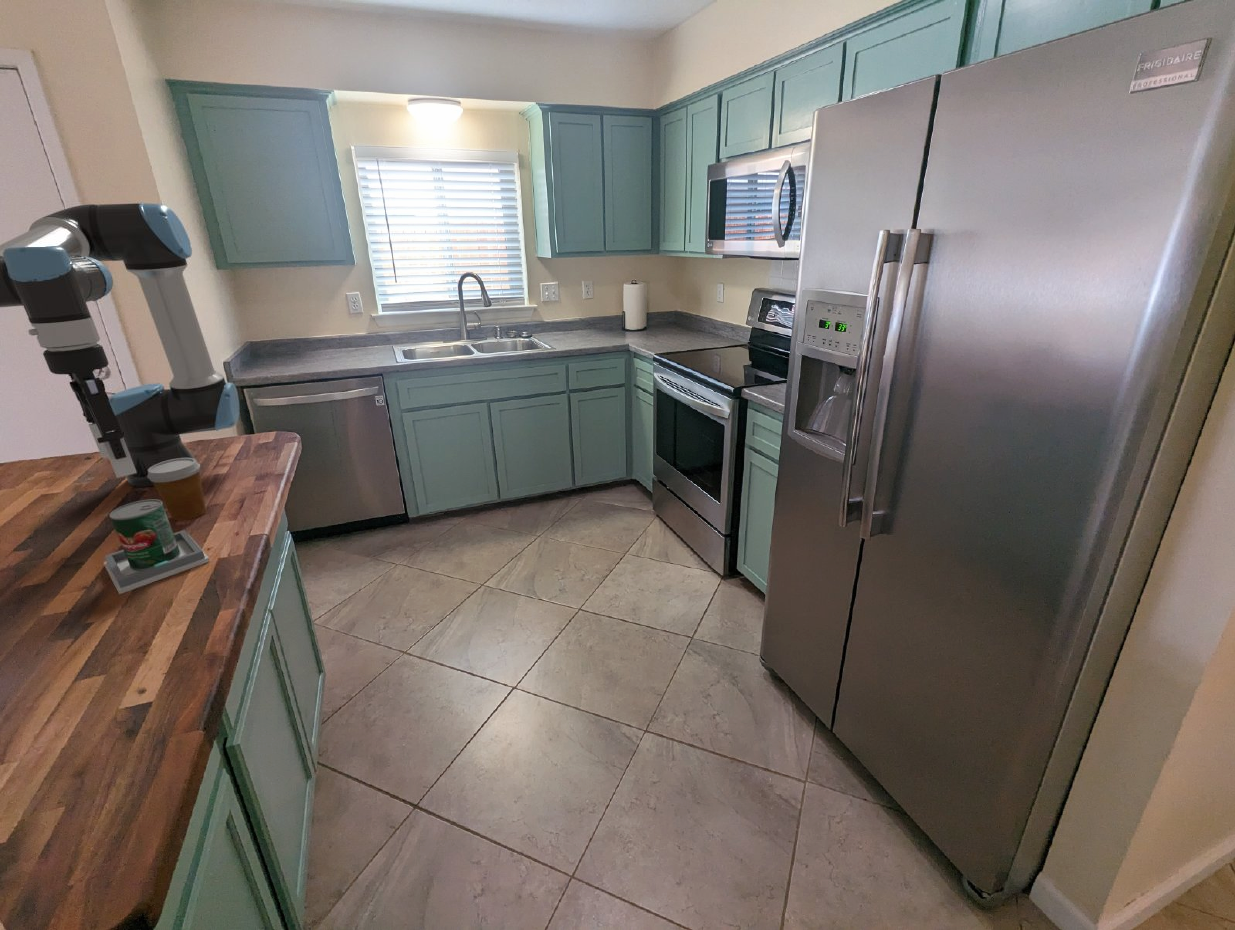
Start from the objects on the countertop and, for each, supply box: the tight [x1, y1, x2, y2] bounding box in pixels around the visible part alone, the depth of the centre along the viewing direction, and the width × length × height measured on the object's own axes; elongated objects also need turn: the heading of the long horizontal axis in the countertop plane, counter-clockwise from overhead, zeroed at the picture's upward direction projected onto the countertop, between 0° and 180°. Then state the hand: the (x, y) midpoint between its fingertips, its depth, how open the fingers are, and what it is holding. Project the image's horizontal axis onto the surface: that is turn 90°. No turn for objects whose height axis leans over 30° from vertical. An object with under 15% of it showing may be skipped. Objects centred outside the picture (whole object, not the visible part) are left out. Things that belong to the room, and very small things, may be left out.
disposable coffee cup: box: [147, 458, 207, 521], centre depth 129 cm, size 10×10×12 cm
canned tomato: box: [109, 498, 180, 571], centre depth 110 cm, size 8×8×11 cm
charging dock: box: [103, 529, 211, 595], centre depth 112 cm, size 14×14×2 cm
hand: (118, 465), depth 104 cm, fingers open, 13 cm apart
